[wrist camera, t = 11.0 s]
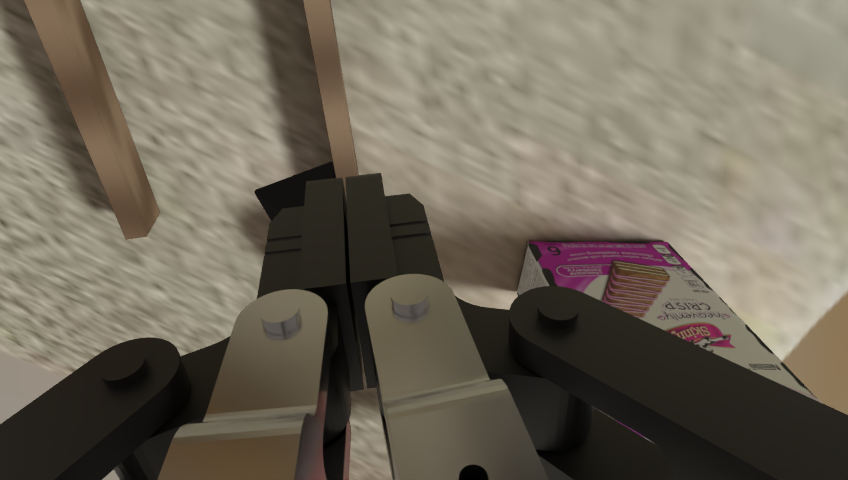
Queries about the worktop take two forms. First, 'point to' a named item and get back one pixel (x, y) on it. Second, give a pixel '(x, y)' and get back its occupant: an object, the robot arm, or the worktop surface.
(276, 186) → the black block
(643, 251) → the candy bar box
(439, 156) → the worktop surface
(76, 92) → the walnut lane
